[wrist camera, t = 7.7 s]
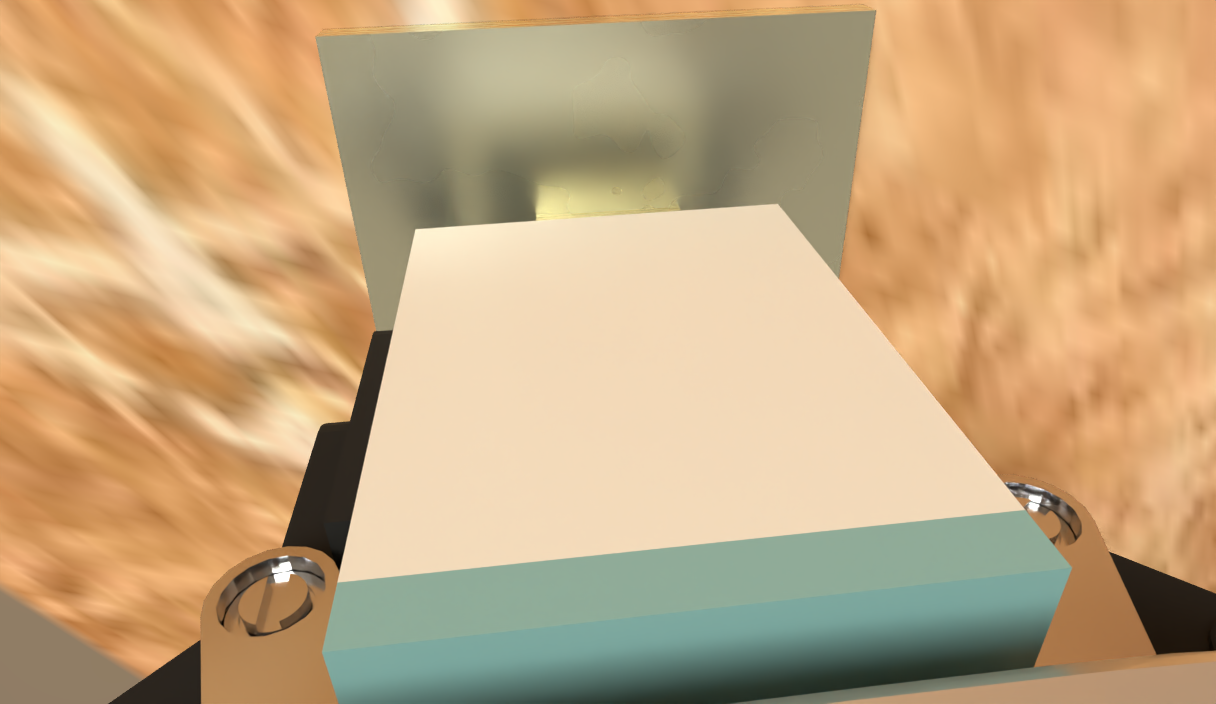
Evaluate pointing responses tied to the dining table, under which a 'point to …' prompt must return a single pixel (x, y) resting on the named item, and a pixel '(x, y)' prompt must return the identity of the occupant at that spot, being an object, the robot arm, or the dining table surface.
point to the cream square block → (595, 122)
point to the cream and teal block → (665, 482)
